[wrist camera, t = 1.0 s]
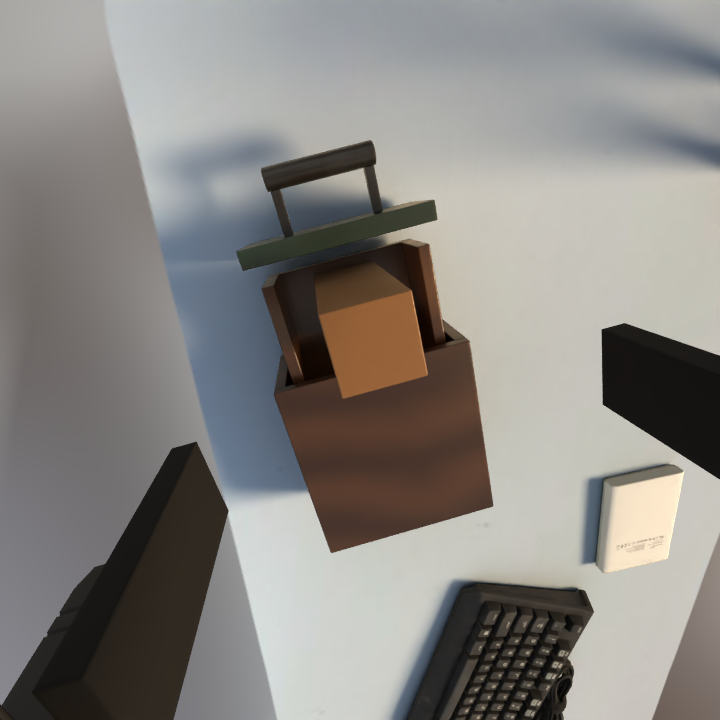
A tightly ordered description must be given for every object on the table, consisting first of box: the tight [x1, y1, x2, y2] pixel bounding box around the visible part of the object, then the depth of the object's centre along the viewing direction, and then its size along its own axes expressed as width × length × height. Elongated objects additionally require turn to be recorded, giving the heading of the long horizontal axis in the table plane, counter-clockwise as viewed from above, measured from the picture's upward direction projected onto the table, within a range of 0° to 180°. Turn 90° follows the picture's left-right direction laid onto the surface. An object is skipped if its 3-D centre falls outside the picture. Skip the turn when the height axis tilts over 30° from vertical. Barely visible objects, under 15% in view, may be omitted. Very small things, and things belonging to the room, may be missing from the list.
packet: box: [314, 261, 428, 399], centre depth 25 cm, size 4×4×12 cm
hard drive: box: [596, 465, 684, 573], centre depth 44 cm, size 2×8×12 cm
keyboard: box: [407, 584, 594, 720], centre depth 51 cm, size 37×22×5 cm, turn 166°
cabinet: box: [274, 319, 493, 553], centre depth 33 cm, size 15×14×8 cm
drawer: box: [236, 140, 446, 384], centre depth 28 cm, size 18×12×6 cm
